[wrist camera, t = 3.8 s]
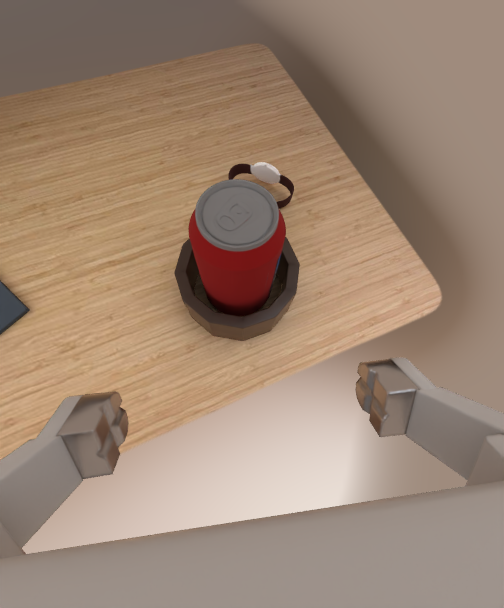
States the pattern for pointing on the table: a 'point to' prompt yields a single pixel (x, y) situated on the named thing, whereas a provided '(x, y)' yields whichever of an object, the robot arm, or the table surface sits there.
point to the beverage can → (237, 244)
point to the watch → (264, 176)
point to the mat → (9, 308)
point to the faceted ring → (230, 323)
